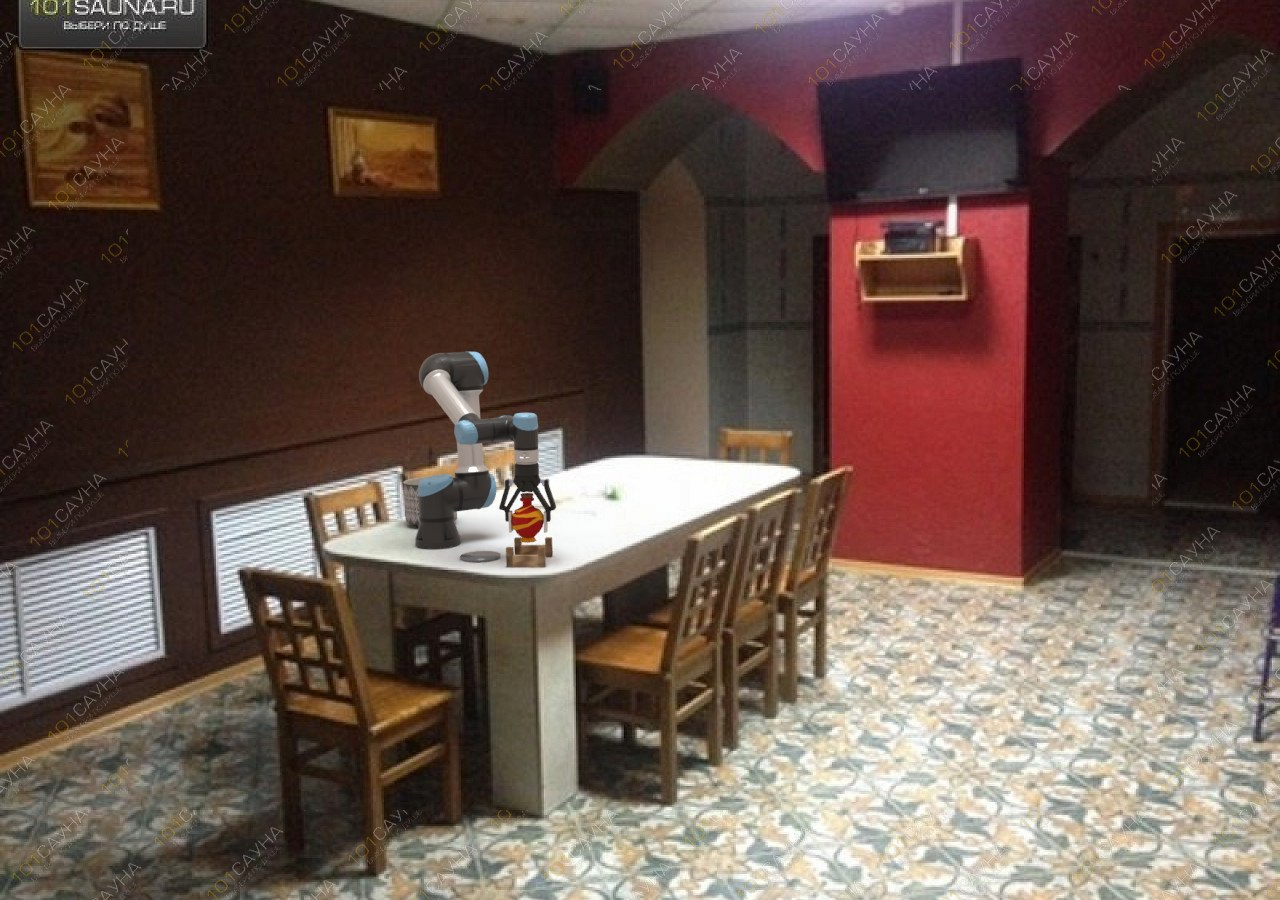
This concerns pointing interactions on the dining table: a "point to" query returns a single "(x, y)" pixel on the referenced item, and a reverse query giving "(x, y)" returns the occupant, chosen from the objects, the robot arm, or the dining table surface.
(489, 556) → the coaster
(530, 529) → the potion bottle
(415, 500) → the planter
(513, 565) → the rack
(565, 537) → the dining table surface
